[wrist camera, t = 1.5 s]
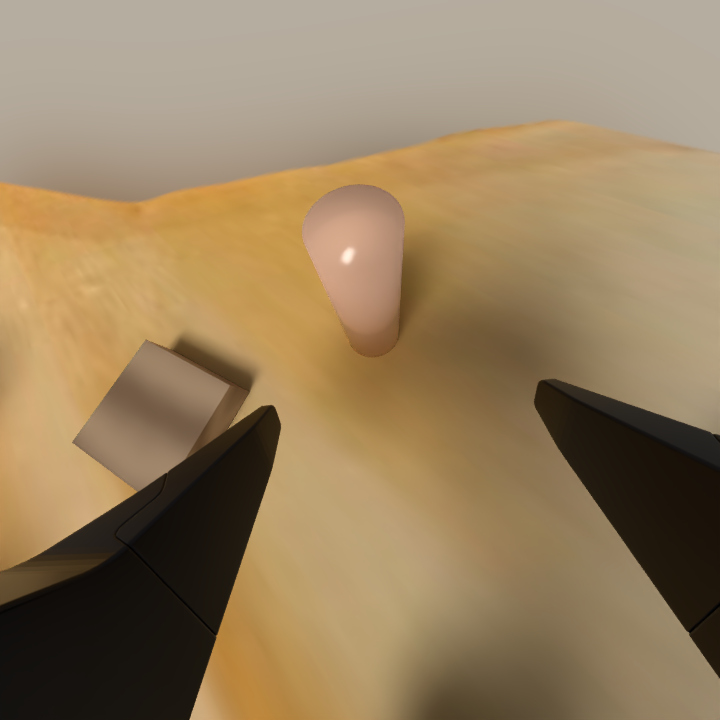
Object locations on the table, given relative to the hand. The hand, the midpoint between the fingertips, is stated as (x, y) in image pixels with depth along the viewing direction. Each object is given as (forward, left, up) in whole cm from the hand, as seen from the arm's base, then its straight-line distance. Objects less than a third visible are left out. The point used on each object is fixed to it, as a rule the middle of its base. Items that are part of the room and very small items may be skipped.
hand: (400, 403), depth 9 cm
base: (-8, +18, -13) cm, 24 cm away
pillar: (+7, +5, -13) cm, 16 cm away
